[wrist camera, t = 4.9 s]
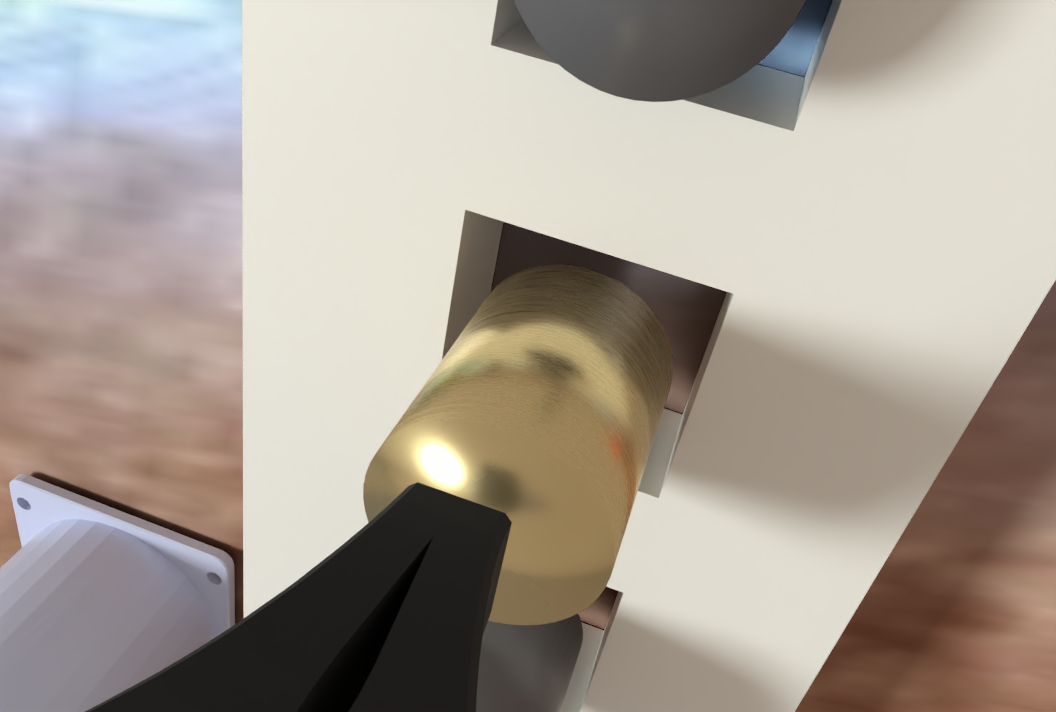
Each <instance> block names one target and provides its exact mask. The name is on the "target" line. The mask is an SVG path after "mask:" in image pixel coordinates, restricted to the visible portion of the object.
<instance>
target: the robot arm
mask: <svg viewBox="0 0 1056 712" xmlns="http://www.w3.org/2000/svg"><path fill="white" fill-rule="evenodd" d="M10 492H11V497H12V502H13V506H14V511H15V516H16V521H17V526H18V530H19V535H20V540H21V545H22V548H21V549H20V550H19V551H18V552H17V553H16V554H15V555H14V556H13V557H12V558H11V559H9V560H8V561H7V562H6V563H5V564H4V565H3V566H2V567H1V568H0V712H476V701H477V684H478V672H479V661H480V652H481V644H482V636H483V633H484V631H485V628H486V625H487V622H488V619H489V617H490V614H491V610H492V606H493V601H494V597H495V593H496V589H497V584H498V580H499V576H500V571H501V567H502V563H503V558H504V554H505V550H506V546H507V541H508V537H509V533H510V528H511V524H512V522H511V521H510V519H509V518H508V516H507V515H506V513H504V512H501V511H498V510H495V509H492V508H489V507H487V506H484V505H481V504H478V503H475V502H472V501H470V500H467V499H464V498H461V497H458V496H455V495H453V494H450V493H447V492H444V491H441V490H438V489H436V488H433V487H430V486H427V485H424V484H422V483H419V482H417V483H414V484H412V485H409V486H408V487H407V488H406V489H405V490H404V491H403V492H402V493H401V494H400V495H399V496H398V497H397V498H395V499H394V500H393V501H392V502H391V503H390V504H389V505H388V506H387V507H386V508H385V509H384V510H382V511H381V512H380V513H379V514H378V515H377V516H376V517H375V518H373V519H372V520H371V521H370V522H369V523H368V524H367V525H365V526H364V527H363V528H362V529H361V530H360V531H358V532H357V533H356V534H355V535H354V536H352V537H351V538H350V539H349V540H348V541H346V542H345V543H344V544H343V545H342V546H340V547H339V548H338V549H337V550H335V551H334V552H333V553H332V554H330V555H329V556H328V557H326V558H325V559H324V560H323V561H321V562H320V563H319V564H318V565H316V566H315V567H314V568H312V569H311V570H310V571H309V572H307V573H306V574H305V575H303V576H302V577H301V578H300V579H298V580H297V581H296V582H294V583H293V584H292V585H290V586H289V587H288V588H286V589H285V590H284V591H282V592H281V593H279V594H278V595H276V596H275V597H274V598H272V599H271V600H269V601H268V602H266V603H265V604H264V605H262V606H261V607H259V608H258V609H256V610H255V611H254V612H252V613H251V614H249V615H248V616H246V617H245V618H244V619H242V620H241V621H239V622H238V623H236V624H235V584H234V563H233V560H232V558H231V557H230V556H229V555H228V554H227V553H226V552H224V551H223V550H221V549H218V548H215V547H213V546H210V545H208V544H205V543H203V542H200V541H197V540H195V539H192V538H190V537H187V536H184V535H182V534H179V533H177V532H174V531H172V530H169V529H166V528H164V527H161V526H159V525H156V524H153V523H151V522H148V521H146V520H143V519H140V518H138V517H135V516H133V515H130V514H128V513H125V512H122V511H120V510H117V509H115V508H112V507H109V506H107V505H104V504H102V503H99V502H96V501H94V500H91V499H89V498H86V497H84V496H81V495H78V494H76V493H73V492H71V491H68V490H65V489H63V488H60V487H58V486H55V485H53V484H50V483H47V482H45V481H42V480H40V479H37V478H34V477H32V476H29V475H25V474H20V475H18V476H17V477H16V478H14V479H13V480H12V481H11V482H10Z"/></svg>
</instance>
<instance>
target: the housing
mask: <svg viewBox="0 0 1056 712" xmlns="http://www.w3.org/2000/svg"><path fill="white" fill-rule="evenodd" d="M242 145H243V612H244V618H245V617H246V616H248V615H249V614H251V613H252V612H254V611H255V610H256V609H258V608H259V607H261V606H262V605H264V604H265V603H266V602H268V601H269V600H271V599H272V598H274V597H275V596H276V595H278V594H279V593H281V592H282V591H284V590H285V589H286V588H288V587H289V586H290V585H292V584H293V583H294V582H296V581H297V580H298V579H300V578H301V577H302V576H303V575H305V574H306V573H307V572H309V571H310V570H311V569H312V568H314V567H315V566H316V565H318V564H319V563H320V562H321V561H323V560H324V559H325V558H326V557H328V556H329V555H330V554H332V553H333V552H334V551H335V550H337V549H338V548H339V547H340V546H342V545H343V544H344V543H345V542H346V541H348V540H349V539H350V538H351V537H352V536H354V535H355V534H356V533H357V532H358V531H360V530H361V529H362V528H363V527H364V526H365V525H367V524H368V519H367V516H366V512H365V507H364V500H363V485H364V480H365V475H366V472H367V469H368V467H369V464H370V462H371V460H372V459H373V457H374V455H375V454H376V452H377V451H378V449H379V448H380V447H381V445H382V444H383V442H384V441H385V440H386V438H387V437H388V435H389V434H390V433H391V431H392V430H393V428H394V427H395V426H396V424H397V423H398V421H399V420H400V419H401V417H402V416H403V414H404V413H405V411H406V410H407V409H408V407H409V406H410V404H411V403H412V402H413V400H414V399H415V397H416V396H417V395H418V393H419V392H420V390H421V389H422V388H423V386H424V385H425V383H426V382H427V381H428V379H429V378H430V376H431V375H432V374H433V372H434V371H435V369H436V368H437V366H438V365H439V364H440V362H441V361H442V359H443V358H444V357H445V355H446V354H447V352H448V351H449V350H450V348H451V347H452V345H453V344H454V343H455V341H456V340H457V338H458V337H459V336H460V334H461V333H462V331H463V330H464V328H465V327H466V326H467V324H468V323H469V321H470V320H471V319H472V317H473V316H474V314H475V313H476V312H477V310H478V309H479V307H480V306H481V305H482V303H483V302H484V300H485V299H486V298H487V296H488V295H489V294H490V292H491V287H492V281H493V276H494V270H495V265H496V259H497V254H498V249H499V243H500V238H501V232H502V227H503V222H506V223H509V224H513V225H516V226H519V227H522V228H525V229H528V230H532V231H535V232H538V233H541V234H544V235H548V236H551V237H554V238H557V239H560V240H564V241H567V242H570V243H573V244H576V245H579V246H583V247H586V248H589V249H592V250H595V251H599V252H602V253H605V254H608V255H611V256H615V257H618V258H621V259H624V260H627V261H630V262H634V263H637V264H640V265H643V266H646V267H650V268H653V269H656V270H659V271H662V272H666V273H669V274H672V275H675V276H678V277H681V278H685V279H688V280H691V281H694V282H697V283H701V284H704V285H707V286H710V287H713V288H717V289H720V290H723V291H726V292H727V293H726V296H725V299H724V301H723V304H722V307H721V310H720V312H719V315H718V318H717V321H716V323H715V326H714V329H713V332H712V334H711V337H710V340H709V343H708V345H707V348H706V351H705V354H704V356H703V359H702V362H701V365H700V368H699V370H698V373H697V376H696V379H695V381H694V384H693V387H692V390H691V392H690V395H689V398H688V401H687V403H686V406H685V409H684V412H683V414H679V413H676V412H673V411H671V410H668V409H665V408H664V409H663V413H662V416H661V419H660V422H659V425H658V428H657V432H656V435H655V438H654V441H653V444H652V447H651V451H650V454H649V457H648V460H647V463H646V466H645V470H644V473H643V476H642V479H641V482H640V485H639V489H638V492H637V495H636V498H635V501H634V504H633V508H632V511H631V514H630V517H629V520H628V523H627V527H626V530H625V533H624V536H623V539H622V542H621V546H620V549H619V552H618V555H617V558H616V562H615V565H614V568H613V571H612V574H611V577H610V579H609V581H608V583H607V586H606V587H609V588H611V589H614V590H617V591H618V594H617V597H616V599H615V602H614V605H613V608H612V610H611V613H610V616H609V619H608V621H607V624H606V627H605V630H601V629H598V628H596V627H593V626H590V625H588V624H585V623H582V622H581V623H582V629H583V641H582V645H581V649H580V652H579V655H578V658H577V661H576V664H575V667H574V670H573V673H572V677H571V680H570V683H569V686H568V689H567V692H566V695H565V698H564V701H563V704H562V707H561V711H560V712H795V710H796V709H797V707H798V705H799V704H800V702H801V701H802V699H803V697H804V696H805V694H806V692H807V691H808V689H809V687H810V686H811V684H812V682H813V681H814V679H815V677H816V676H817V674H818V672H819V671H820V669H821V667H822V666H823V664H824V662H825V661H826V659H827V657H828V656H829V654H830V653H831V651H832V649H833V648H834V646H835V644H836V643H837V641H838V639H839V638H840V636H841V634H842V633H843V631H844V629H845V628H846V626H847V624H848V623H849V621H850V619H851V618H852V616H853V614H854V613H855V611H856V609H857V608H858V606H859V605H860V603H861V601H862V600H863V598H864V596H865V595H866V593H867V591H868V590H869V588H870V586H871V585H872V583H873V581H874V580H875V578H876V576H877V575H878V573H879V571H880V570H881V568H882V566H883V565H884V563H885V561H886V560H887V558H888V557H889V555H890V553H891V552H892V550H893V548H894V547H895V545H896V543H897V542H898V540H899V538H900V537H901V535H902V533H903V532H904V530H905V528H906V527H907V525H908V523H909V522H910V520H911V518H912V517H913V515H914V513H915V512H916V510H917V509H918V507H919V505H920V504H921V502H922V500H923V499H924V497H925V495H926V494H927V492H928V490H929V489H930V487H931V485H932V484H933V482H934V480H935V479H936V477H937V475H938V474H939V472H940V470H941V469H942V467H943V466H944V464H945V462H946V461H947V459H948V457H949V456H950V454H951V452H952V451H953V449H954V447H955V446H956V444H957V442H958V441H959V439H960V437H961V436H962V434H963V432H964V431H965V429H966V427H967V426H968V424H969V422H970V421H971V419H972V418H973V416H974V414H975V413H976V411H977V409H978V408H979V406H980V404H981V403H982V401H983V399H984V398H985V396H986V394H987V393H988V391H989V389H990V388H991V386H992V384H993V383H994V381H995V379H996V378H997V376H998V374H999V373H1000V371H1001V370H1002V368H1003V366H1004V365H1005V363H1006V361H1007V360H1008V358H1009V356H1010V355H1011V353H1012V351H1013V350H1014V348H1015V346H1016V345H1017V343H1018V341H1019V340H1020V338H1021V336H1022V335H1023V333H1024V331H1025V330H1026V328H1027V326H1028V325H1029V323H1030V322H1031V320H1032V318H1033V317H1034V315H1035V313H1036V312H1037V310H1038V308H1039V307H1040V305H1041V303H1042V302H1043V300H1044V298H1045V297H1046V295H1047V293H1048V292H1049V290H1050V288H1051V287H1052V285H1053V283H1054V282H1055V280H1056V0H832V3H831V6H830V9H829V11H828V14H827V17H826V20H825V22H824V25H823V28H822V31H821V33H820V36H819V39H818V42H817V45H816V47H815V50H814V53H813V56H812V58H811V61H810V64H809V67H808V69H807V72H806V75H805V78H804V77H801V76H797V75H793V74H790V73H786V72H783V71H779V70H775V69H772V68H768V67H764V66H761V65H755V66H754V67H753V68H752V69H751V70H749V71H748V72H747V73H745V74H744V75H742V76H740V77H739V78H737V79H736V80H734V81H732V82H731V83H729V84H727V85H725V86H723V87H720V88H718V89H716V90H714V91H712V92H709V93H706V94H702V95H699V96H696V97H693V98H688V99H682V100H677V101H665V102H648V101H636V100H631V99H626V98H621V97H617V96H614V95H611V94H608V93H605V92H603V91H600V90H597V89H596V88H594V87H592V86H590V85H588V84H586V83H584V82H582V81H580V80H579V79H577V78H576V77H574V76H573V75H572V74H570V73H569V72H567V71H566V70H565V69H563V68H562V67H561V66H560V65H559V64H558V63H557V62H555V61H554V60H553V59H552V58H551V57H550V56H549V55H548V54H547V52H546V51H545V50H544V49H543V48H542V47H541V46H540V44H539V43H538V42H537V41H536V39H535V38H534V36H533V35H532V33H531V32H530V30H529V29H528V28H527V26H526V24H525V22H524V20H523V19H522V17H521V15H520V13H519V11H518V9H517V7H516V4H515V2H514V0H242Z"/></svg>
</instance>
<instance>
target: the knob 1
mask: <svg viewBox="0 0 1056 712" xmlns="http://www.w3.org/2000/svg"><path fill="white" fill-rule="evenodd" d="M582 641H583V629H582V623H581V620H580V617H579V615H578V614H575V615H573V616H571V617H569V618H567V619H563V620H560V621H557V622H553V623H547V624H541V625H510V624H503V623H496V622H492V621H488V622H487V625H486V628H485V631H484V633H483V636H482V644H481V652H480V661H479V672H478V684H477V701H476V712H560V711H561V707H562V704H563V701H564V698H565V695H566V692H567V689H568V686H569V683H570V680H571V677H572V673H573V670H574V667H575V664H576V661H577V658H578V655H579V652H580V649H581V645H582Z"/></svg>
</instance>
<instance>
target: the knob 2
mask: <svg viewBox="0 0 1056 712" xmlns="http://www.w3.org/2000/svg"><path fill="white" fill-rule="evenodd" d="M805 1H806V0H514V2H515V4H516V7H517V9H518V11H519V13H520V15H521V17H522V19H523V20H524V22H525V24H526V26H527V28H528V29H529V30H530V32H531V33H532V35H533V36H534V38H535V39H536V41H537V42H538V43H539V44H540V46H541V47H542V48H543V49H544V50H545V51H546V52H547V54H548V55H549V56H550V57H551V58H552V59H553V60H554V61H555V62H557V63H558V64H559V65H560V66H561V67H562V68H563V69H565V70H566V71H567V72H569V73H570V74H572V75H573V76H574V77H576V78H577V79H579V80H580V81H582V82H584V83H586V84H588V85H590V86H592V87H594V88H596V89H597V90H600V91H603V92H605V93H608V94H611V95H614V96H617V97H621V98H626V99H631V100H636V101H648V102H665V101H677V100H682V99H688V98H693V97H696V96H699V95H702V94H706V93H709V92H712V91H714V90H716V89H718V88H720V87H723V86H725V85H727V84H729V83H731V82H732V81H734V80H736V79H737V78H739V77H740V76H742V75H744V74H745V73H747V72H748V71H749V70H751V69H752V68H753V67H754V66H755V65H757V64H758V63H759V62H760V61H762V60H763V59H764V58H765V57H766V56H767V55H768V54H769V53H770V52H771V51H772V50H773V49H774V48H775V46H776V45H777V44H778V43H779V42H780V41H781V40H782V38H783V37H784V35H785V34H786V33H787V31H788V30H789V29H790V27H791V26H792V25H793V23H794V21H795V19H796V18H797V16H798V14H799V12H800V11H801V9H802V7H803V5H804V3H805Z"/></svg>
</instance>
